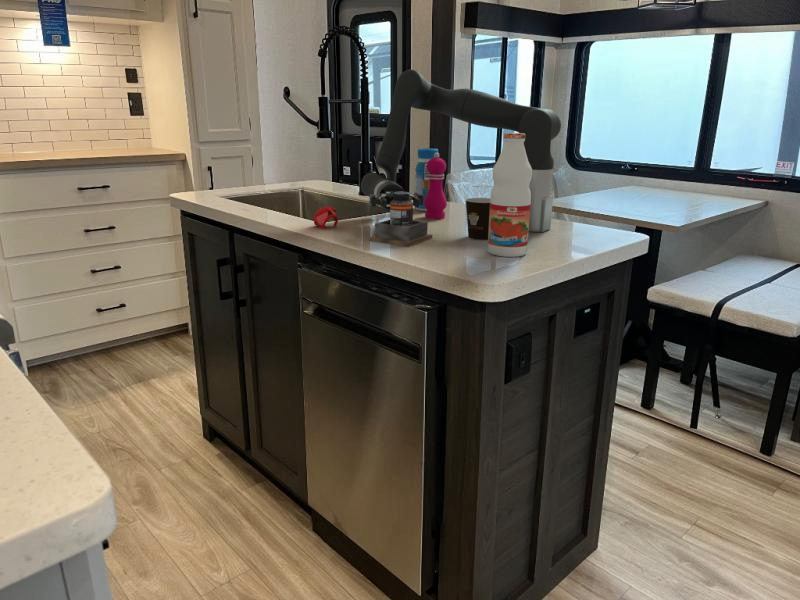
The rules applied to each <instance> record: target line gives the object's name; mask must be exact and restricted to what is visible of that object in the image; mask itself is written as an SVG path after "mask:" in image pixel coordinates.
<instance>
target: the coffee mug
mask: <svg viewBox="0 0 800 600" xmlns="http://www.w3.org/2000/svg"><path fill="white" fill-rule="evenodd" d="M490 198H491V197H490ZM490 198H488V197H470V198H466V199H465V208H466V211H465V212H466V223H467V226H466V227H467V236H468V237H467V238H469V239H471V240H477V241H479V240H480V241H486V240H487V241H488V233H489V215H490Z"/></svg>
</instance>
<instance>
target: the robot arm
mask: <svg viewBox="0 0 800 600" xmlns="http://www.w3.org/2000/svg"><path fill="white" fill-rule="evenodd" d="M393 91H394V92H393V98H392V102H391V105H390V106H391V107H390V110H389V116H388V121H387V125H386V129H385V133H384V136H383V138H382V142H381V145H380V147H379V150H378V152H377V156H376V160H375V165H376V166H377V167H379V168H380V169H382V170H383V171H384V172H385V173H386V174H385V175H386V177H384V176H382V175H379V174H377V173H374V172H368V173H367V174H365V175H364V176H363V178H362V180H361V181H360V182H361V183H360V189H361V192H362V194H364V195H365V196H367V197H368V203H369V205H370V206H371V207H374V208H375V207H376V205H377V206H378V207H380V208H383V209H385V210H388V211H390V203H391V201H392V200H393V199H394V192H405V190H404V188H403V187H402V186H401V185H399V183H397V173H398V169H399V168H398V167H399V166H400V161H401V158H402V156H403V153H404V150H405V146H406V139H407V126H408V120H409V119H408V118H409V115H410V112H411V108H412V109H416V110H422V111H430V112H434V113H435V112H436V113H440V114H442V115H446V116H448V117H449V118H452V119H456V120H459V121H461V122H465V123H468V124H471V125H475V126H480V127H484V128H485V127H486V128H490V129H491V128H492V129H502V130H509V131H512V132H513V131H514V132H515V133H524V134H525V136H526V138H525V141H524V147H525V151H526V155H527V158H528V161H529V164H530V166H531V168H532V178H531V181H530V183H529V189H530V192H531V204H530V217H529V230H528V232H535V233H536V232H541V233H544V232H547V231H549V230H550V229H551V227H552V226H551V224H552V215H553V204H554V203H553V202H554V196H553V195H552V186H553V185H552V184H553V175H554V174H553V173H554V158H553V156H552V153H551V144H552V141H553V140H554V139H555V138H556V137H558V135H559V133H560V132H561V130H562V129H561V128H562V121H561V119H560V117H559V115H558V114H557V113H556V112H555V111H553V110H552V109H550V108H542V107H533V106H527V105H524V104H523V105H521V104H519V103H515V102H512V101H509V100H507V99H505V98H502V97H499V96H496V95H492V94H490V93H487V92H485V91H479V90H477V89H473V88H457V89H450V88H449V89H448V88H447V89H446V88H444V87H440V86H438V85H436V84H433V83H431V82H430V81H428V80H427V79H426V78H425V77H424V76H423V74H421V73H420V72H419V71H417V70H415V69H407V70H405V71H403V72H402V73H401V74H400V75H399V76H398V78H397V80H396V84H395V85H394V90H393ZM408 193H409V200H410V201H412V203H413V207H414V208H415V207H419V206H420V205H423V198H424V196H423V195H421V194H419V193H415V192H414V193H413V195H412V193H411V192H408Z"/></svg>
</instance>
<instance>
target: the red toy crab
mask: <svg viewBox="0 0 800 600" xmlns="http://www.w3.org/2000/svg"><path fill="white" fill-rule="evenodd" d="M336 212H337V209H336V208H335V207H333V206H325V207H322V208H320V209H319V210H317V211H316V212H315V214H314V217H313V224H314V225H315V226H316V225H319V226H318V227H320V228H321V229H323V228H326V229H327V226H326V224H327V223H328V221H329V220H330V219H333V220H334V224H333V227H334V226H336V227H337V225H338V222H339V217H338V216H337V215H336Z"/></svg>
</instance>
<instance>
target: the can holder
mask: <svg viewBox="0 0 800 600" xmlns="http://www.w3.org/2000/svg"><path fill="white" fill-rule="evenodd" d="M428 223H429V222H428V221H425V220H424V221H423V220H414V219H413V225H411V226H408V227H403V226H396V225H390V219H387V220H384V221H379V222H376V223H374V235H372V236H369V241H370V242H374V243H381V244H388V245H396V246H399V247H400V246H402V247H408V248H409V247H412V246H414V245H418V244H420V243H421V244H422V243H423V242H426V241H430V240H432V239H433V234H431V233H430V234H428V227H429V226H428V225H429V224H428Z"/></svg>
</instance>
